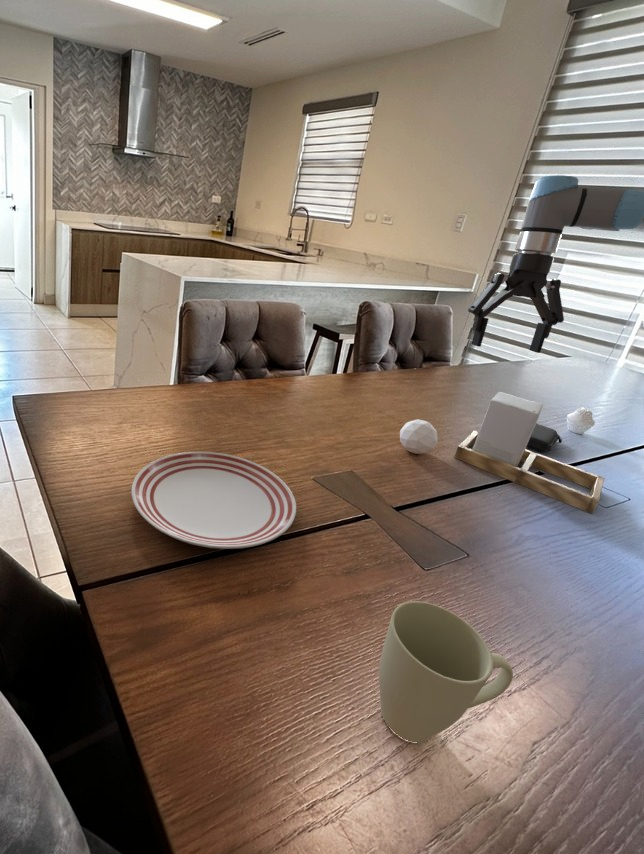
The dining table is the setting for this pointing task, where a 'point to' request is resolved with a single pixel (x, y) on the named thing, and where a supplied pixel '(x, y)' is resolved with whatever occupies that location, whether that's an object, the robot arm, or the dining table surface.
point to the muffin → (580, 420)
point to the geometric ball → (418, 436)
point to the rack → (536, 481)
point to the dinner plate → (213, 500)
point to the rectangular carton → (507, 428)
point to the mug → (434, 670)
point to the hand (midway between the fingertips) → (505, 348)
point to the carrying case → (543, 438)
